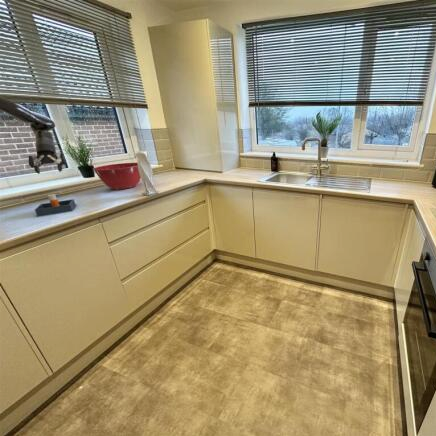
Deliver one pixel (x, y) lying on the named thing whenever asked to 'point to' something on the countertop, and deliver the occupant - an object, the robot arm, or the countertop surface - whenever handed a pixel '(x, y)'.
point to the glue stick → (53, 200)
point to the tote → (55, 208)
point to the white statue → (146, 173)
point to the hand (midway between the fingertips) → (49, 171)
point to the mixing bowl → (119, 175)
